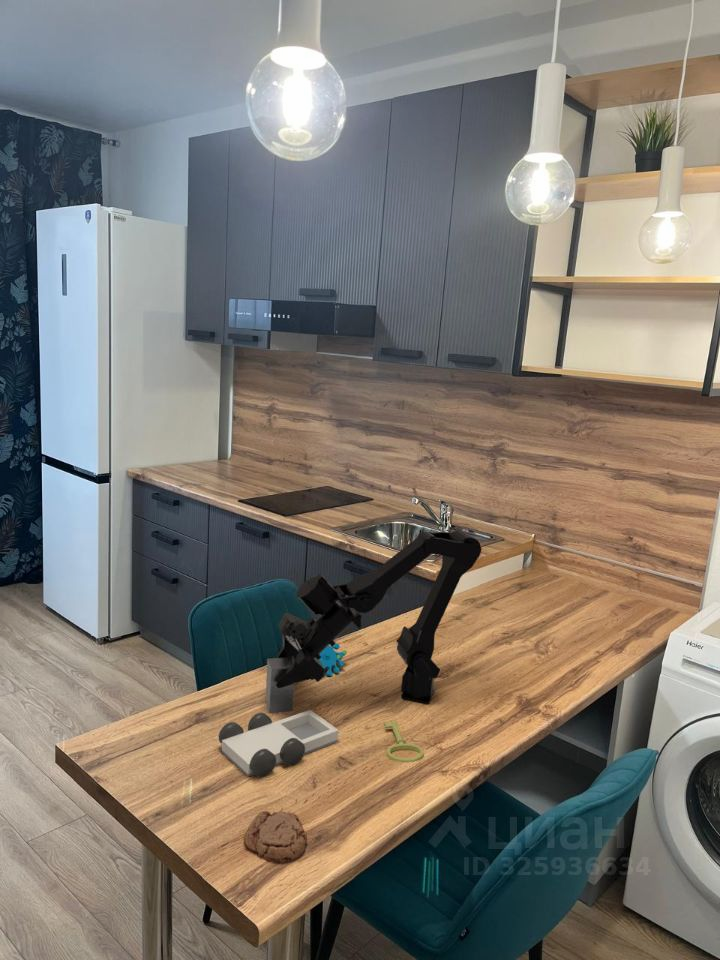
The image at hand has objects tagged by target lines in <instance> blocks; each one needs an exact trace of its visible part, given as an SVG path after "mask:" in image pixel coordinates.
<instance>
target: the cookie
mask: <svg viewBox="0 0 720 960" xmlns="http://www.w3.org/2000/svg"><path fill="white" fill-rule="evenodd" d="M243 841H244V842H245V846H246V847H247V849H248V850H251V851H253V852H254V853H256V854H257V857H258V858H262V859H263V860H265V861H268V862H271V861H274V862H275V863H276V862H278V863H281V864H284V863H287V862H289V861H290V862H293V861H295V860H297V859H298V858H299V857H301V855H303V854H304V852H305V850H306V844H307V842H308V835H307V832H306V831H305V829H304V827H303V822H302V821H301V820H300V817H299V816H298V815H297V814H296V813H294V812H290V811H288V812H287V811H282V810H281V811H280V810H279V811H273V812H272V813H271V812H270V811H268V810H262V811H260V812H259V813H257V814H256V815H255V817H254V818H253V819H252V821H251V822H250V824H249V826H248V827H247V829H246V831H245V833H244V835H243Z"/></svg>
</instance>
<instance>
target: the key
mask: <svg viewBox="0 0 720 960" xmlns="http://www.w3.org/2000/svg"><path fill="white" fill-rule="evenodd" d="M383 727H384V728H385V729H392V731H393V735H394V737H395V739H396V742H395V744H393V745H390V746H389V747H388V748H387V750H386V757H387V758H388V759H389V760H391V761H394V762H399V763H413V762H418V761H420V760H422V759H423V758H424V755H425V754H424V750H423V748H422V747H421V746H419V745H417V744H413V743H407V742H406V739H404V738H403V736H402V734H401V732H400V729H399V726H398V724H397V722H396V720H391V722H385V723H383ZM402 750H403V751H404V750H405V751H415V752H417V753H418V754H417V755H415V756H413V757H399V756H397V755H394V754H392V752H395V751H402Z"/></svg>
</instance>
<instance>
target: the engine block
mask: <svg viewBox="0 0 720 960" xmlns="http://www.w3.org/2000/svg"><path fill="white" fill-rule="evenodd" d="M266 660H267V661H266V662H267V663H266V664H267V665H266V684H265V705H266V709H267V711H268V714H279V712H281V713H291V711H293V710H294V709H293V708H294V693H295V683H294V684H291V685H288V686H285V687H282V688H278V687H277V686H276V683H277V682H278V681H279V679H280V678H281V677H282V676H283V675H284V674H285V672H286V671H287V670H288V669H289V668H290V666H291V665H292V659H291V657H289V658H276V657H274V658H267V659H266Z"/></svg>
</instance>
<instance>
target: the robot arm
mask: <svg viewBox="0 0 720 960" xmlns="http://www.w3.org/2000/svg"><path fill="white" fill-rule="evenodd" d="M481 552H482V547H481V543H480V541H479V540H478V539H476V538H475V537H474V536H472V535H470V534H469V533H467V532H466V531H464V530H462V529H457V530H454V531H451V532H447V531H438V532H436V531H435V532H434V531H433V532H430V531H422V532H421V533H419V534H418V535H417V537H416V538H415V539H413V540H412V541H411V542H410V543H408V544H407V545H406V546H405V547H403V548H402V549H401V550H399V551H398V552H397V553H396V554H394V555H392V556H391V557H390V558H389V559H388V560H387V561H385V562H384V563H383V564H381V565H380V566H379V567H377V568H376V569H374V570H372V571H368V572H366V573H363V574H361V575H358V577H355V578H354V579H352V580H349V582H348V583H343V584H337V585H332V584H330V583H329V582H328V581H327V579H326V578H325V576H324V575H323V574H321V573H318V575H317V576H315V577H311V578H309V579H308V580H305V581H304V582H303V583H302V584H301V585H300V586H299V588H298V590H297V591H296V597H297V598H298V599H299V600H300V601H301V602H302V603H303V604H304V605H305V606H306V607H307V608H308V609H309V610H310V611H311V612H312V613H313V614H314V615H319V616H318V618H317V619H315V618H314V617H311V618H310V619H308V620H307V621H306V620H304V619H302V618H300V617H298V616H295V615H293V614H290V613H288V612H285V613H284V614H283V615H282V617H281V620H280V621H279V624H278V626H277V627H278V628H280V633H281V634H282V635H281V637H282V646H281V648H280V650H279V652H278V653H277V656H276V657H275V658H289V657H291V659H292V665H291V666H290V668H289V669H288V670H287V671H286V672H285V674H284V675H283V676H282V677H281V678H280V679H279V681H278V682H277V683H276V686H277V687H278V688H282V687H285V686H288V685H291V684H294V685H295V684H297V683H301V682H305V681H309V680H311V681H313V680H315V682H317V683H319V682H320V681H322V680H323V678H324V677H325V676H326V668H325V669H324V667H323V665H322V663H321V662H320V661H319V659H320V658H321V655H320V653H321V652H322V651H323V650H324V649H325V648H326V647H327V646H328V645H329V646H332V647H333V646H334V645H335V644H336V641H335V640H336V639H337V637H339V636H340V635H341V634H342V633H343V632H344V631H345V630H347V628H348V627H349V626H350V625H351V624H352V623H353V624H354V625H355V626H356V627H357V628H358V629H361V628H362V617H363V616H362V614H368V613H370V612H371V611H373V610H374V609H375V608H376V607H377V606H378V605H379V604H380V602H382V600H384V598H385V596H386V594H387V592H388V590H389V589H390V588H391V587H392V586H393V585H395V584H396V583H397V582H398V581H399V580H401V579H402V578H403V577H405V576H406V575H407V574H408V573H409V572H411V571H412V570H413V569H415V568H416V567H417V566H419V565H420V564H421V563H422V562H424V561H425V560H426V559H427V558H429V556H431V555H438V556H442V557H441V559H442V560H441V561H442V562H441V567H440V570H439V572H438V574H437V577H436V578H435V580H434V583H433V584H432V587H431V589H430V591H429V593H428V595H427V598H426V599H425V603H424V604H423V607H422V609H421V611H420V613H419V615H418V617H417V619H416V621H415V623H414V624H413V625H412V626H410V627H407V626H403V628H402V629H401V633H400V636H399V637H398V638H397V639H396V643H397V646H396V650H397V653H398V655H399V656H400V658H401V659H402V660H403V662H404V663H405V664H406V669H405V670H404V672H403V674H402V677H401V687H400V692H401V693H402V694H401V695H400V696H401V699H403V700H407V701H412V702H416V703H422V704H426V705H427V704H428V705H429V704H430V703H431V701H432V698H433V696H434V694H435V689H434V685H435V684H434V683H435V679H437V678H438V676H439V673H440V671H441V668H440V667H439V666H438V665H437V663H435V661H434V660H433V659H432V657H433V654H434V650H435V635H436V632H437V630H438V628H439V625H440V623H441V621H442V620H443V618H444V617H443V616H444V615H445V612H446V610H447V608H448V606H449V604H450V601H451V599H452V598H453V595H454V593H455V590H456V589H457V587H458V584H459V583H460V580H461V578H462V577H463V576H464V575H465V574H466V573H467V572H468V571H470V570H471V569H472V568H473V567H474V566H475V563H476V562H477V560H478V559H479V557H480V556H481ZM338 601H339V602H340V603H339V602H338ZM352 609H354V610H355V611H353V610H352ZM361 613H362V614H361Z"/></svg>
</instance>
